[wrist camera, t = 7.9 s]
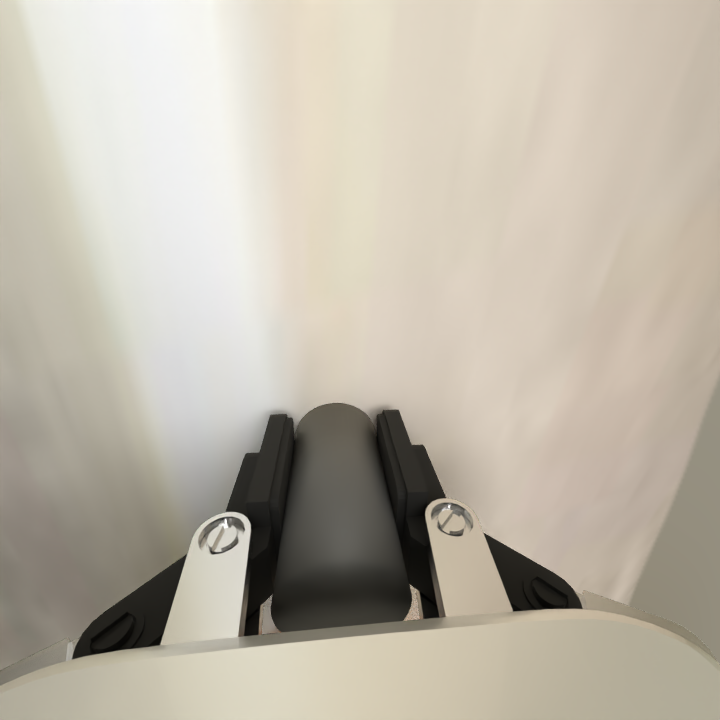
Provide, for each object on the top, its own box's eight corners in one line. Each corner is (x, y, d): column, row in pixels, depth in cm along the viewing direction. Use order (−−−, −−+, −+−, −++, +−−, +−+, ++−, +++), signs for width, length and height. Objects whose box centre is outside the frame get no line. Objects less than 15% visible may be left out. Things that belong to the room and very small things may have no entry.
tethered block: (249, 406, 12) (182, 573, 6) (416, 399, 12) (488, 547, 7) (289, 688, 19) (275, 878, 14) (394, 676, 20) (420, 855, 14)
